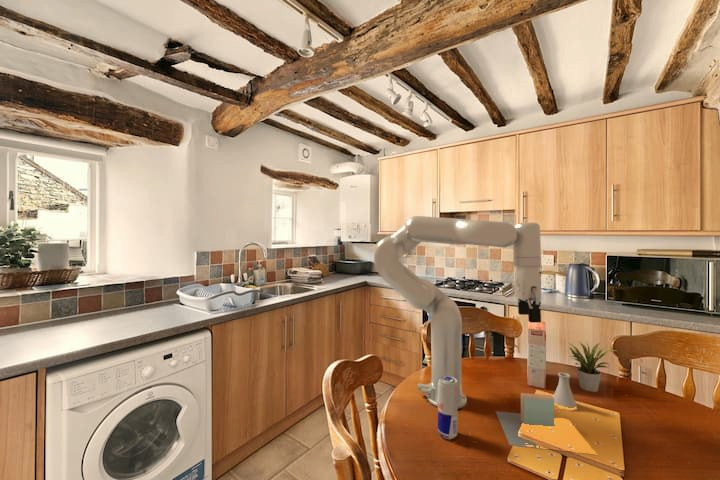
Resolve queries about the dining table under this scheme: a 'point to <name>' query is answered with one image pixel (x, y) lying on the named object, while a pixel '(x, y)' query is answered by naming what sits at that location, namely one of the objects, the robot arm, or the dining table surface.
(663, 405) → the dining table surface
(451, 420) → the beverage can
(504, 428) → the mat
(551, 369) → the dining table surface
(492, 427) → the dining table surface
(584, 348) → the house plant
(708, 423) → the dining table surface
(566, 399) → the flask
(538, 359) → the cracker box
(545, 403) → the tile
